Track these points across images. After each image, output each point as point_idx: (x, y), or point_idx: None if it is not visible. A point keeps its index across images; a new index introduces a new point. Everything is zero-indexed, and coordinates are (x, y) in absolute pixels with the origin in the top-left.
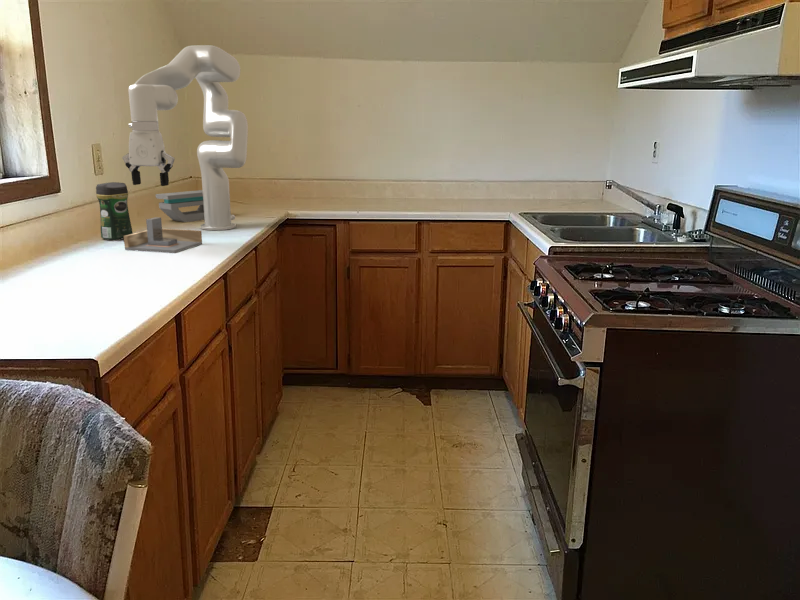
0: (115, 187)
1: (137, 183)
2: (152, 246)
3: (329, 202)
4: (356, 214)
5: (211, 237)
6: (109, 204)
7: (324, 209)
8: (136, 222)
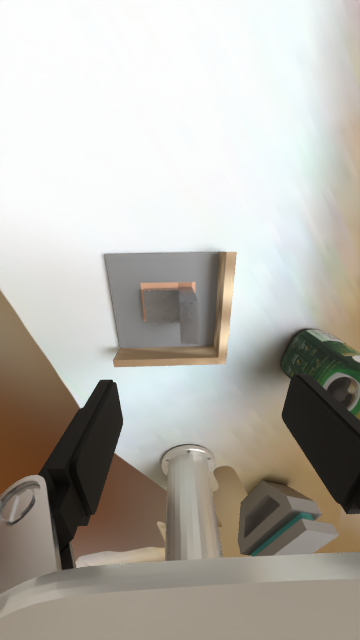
0: None
1: (289, 396)
2: (176, 279)
3: None
4: (81, 559)
5: (148, 402)
6: None
7: None
8: None
